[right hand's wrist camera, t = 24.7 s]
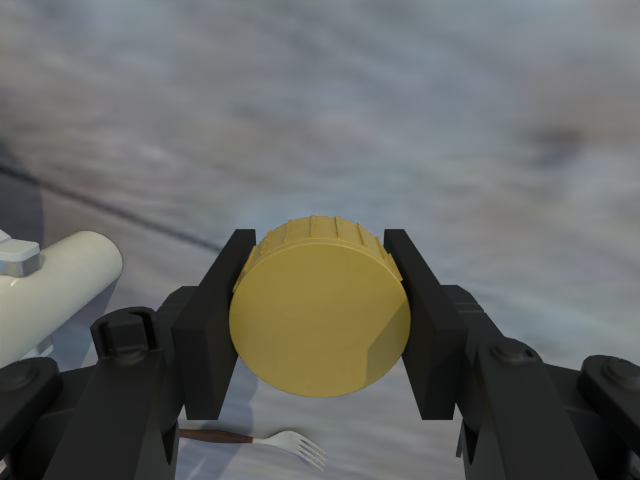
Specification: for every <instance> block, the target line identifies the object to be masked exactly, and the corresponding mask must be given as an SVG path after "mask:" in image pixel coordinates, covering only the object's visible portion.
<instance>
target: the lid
mask: <svg viewBox="0 0 640 480" xmlns="http://www.w3.org/2000/svg"><path fill="white" fill-rule="evenodd" d="M402 280H403V279H402V277H401V275H400V273H399V271H398V269H397V266H396V264H395V262H394V260H393V258H392V256H391V254H387V252H386V250H385V249H384V247H383V246H382V244H381V242H380V240H379V238H378V237H376V238H375V237H374V236H373V235H372V234H370V233H369V232H368V231H367V230H365V229H363V228H362V227H361V225H360V224H357V225H356V224H354V223H352V222H349V221H347V220H343V219H339V217H338V216H335V217H327V216H315V215H311V217H305V218H301V219H296V220H293V221H292V220H288V223H285V224H283V225H282V226H280V227H278V228H276V229H275V230H273V231H271V230H270V231H269V232H268V234H267V236H266V237H265V238H264V239H263V240H262V241H261V242H260V243H259V244H258V246H254V247H253V249H252V251H251V253H250V255H249V258H248V260H247V262H246V264H245V265H244V267H243V269H242V271H241V273H240V275H239V278H238V280H237V282H236V284H235V286H234V288H233V291H232V292H234V295H233V298H232V300H231V305H230V309H229V327H230V335H231V339H232V342H233V344H234V347H235V349H236V351H237V353H238V355H239V356H240V358H241V360H242V361H243V362H244V363H245V365H246V366H247V367H248V368H249V369H250V370H251V371H252V372H253V373H254V374H255V375H256V376H258V377H259V378H260V379H262V380H263V381H265V382H266V383H268V384H270V385H271V386H273V387H275V388H278V389H280V390H282V391H285V392H288V393H291V394H295V395H300V396H307V397H334V396H340V395H345V394H348V393H352V392H355V391H358V390H360V389H362V388H364V387H367V386H368V385H370V384H372V383H374V382H375V381H377V380H378V379H379V378H381V377H382V376H384V375H385V374H386V373H387V372H388V371H389V370H390V369H391V368H392V367H393V366H394V364H395V363H396V362H397V361H398V359H399V358H400V356H401V354H402V353H403V351H404V349H405V346H406V344H407V341H408V338H409V333H410V325H411V311H410V305H409V301H408V298H407V295H406V293H405V290H404V288H403V286H402V284H401V282H400V281H402Z"/></svg>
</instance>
